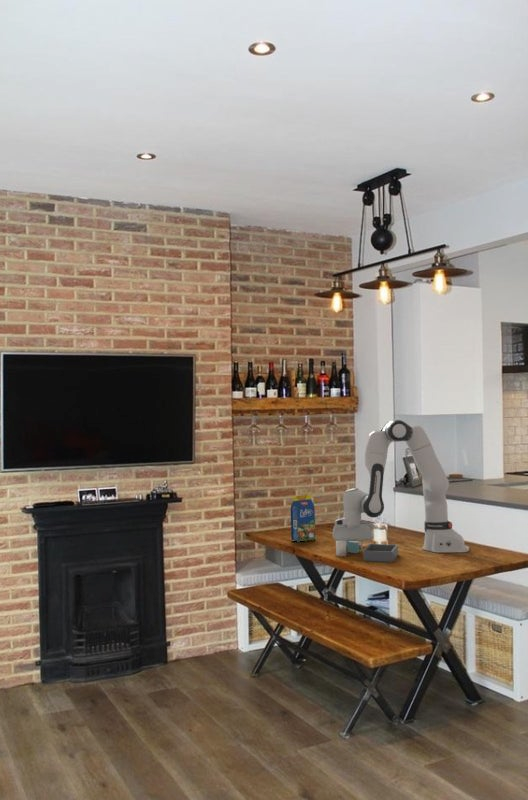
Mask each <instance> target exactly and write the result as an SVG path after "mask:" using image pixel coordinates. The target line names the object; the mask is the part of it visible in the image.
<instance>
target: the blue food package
mask: <svg viewBox="0 0 528 800" xmlns="http://www.w3.org/2000/svg"><path fill="white" fill-rule="evenodd" d="M292 497H293V502H292V503H291V504H290V505H291V506H290V527H291V528H290V531H291V532H290V535H291V541H292V540H294V541H298V542H297V543H301V542H300V541H305V542H308V541H307V540H312V541H315V540H314V539H316V517H315V514H316V512H315V504H314V502H313V500H312V494H311V493H310V494H301V495H294V496H292Z"/></svg>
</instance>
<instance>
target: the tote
mask: <svg viewBox="0 0 528 800" xmlns="http://www.w3.org/2000/svg"><path fill="white" fill-rule="evenodd" d="M398 556H399V544H389V543H388V544H385V543H383V544H382V543H368V545H367V546H366V547H365V548H364V549H362V561H366V563H368V562H369V563H388V562H393V561H395V560H396V559H397V558H398ZM396 557H397V558H396ZM393 563H394V562H393Z"/></svg>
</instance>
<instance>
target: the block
mask: <svg viewBox="0 0 528 800" xmlns="http://www.w3.org/2000/svg"><path fill="white" fill-rule="evenodd" d="M359 545H360V541H359V540H354V541H349V542H348V543H347V548H346V553H348V552H351V553H350V554H358V553H360V549H359Z"/></svg>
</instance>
